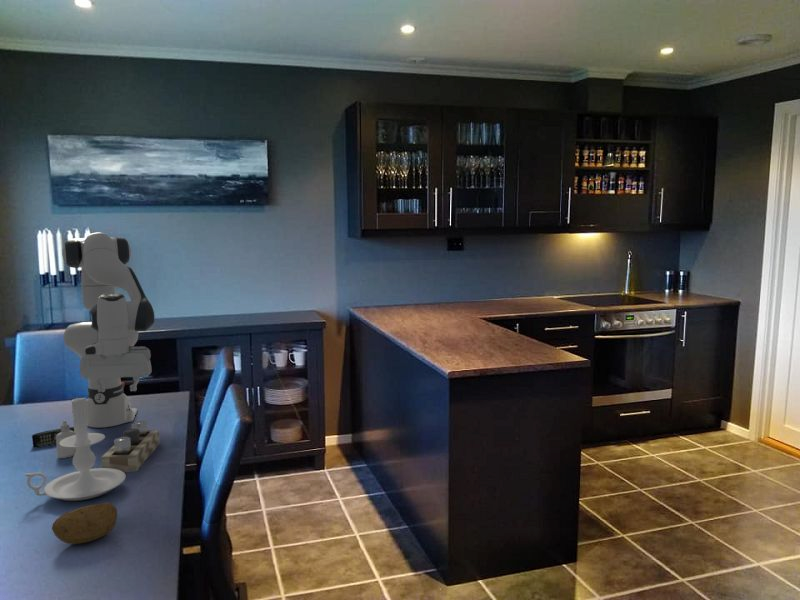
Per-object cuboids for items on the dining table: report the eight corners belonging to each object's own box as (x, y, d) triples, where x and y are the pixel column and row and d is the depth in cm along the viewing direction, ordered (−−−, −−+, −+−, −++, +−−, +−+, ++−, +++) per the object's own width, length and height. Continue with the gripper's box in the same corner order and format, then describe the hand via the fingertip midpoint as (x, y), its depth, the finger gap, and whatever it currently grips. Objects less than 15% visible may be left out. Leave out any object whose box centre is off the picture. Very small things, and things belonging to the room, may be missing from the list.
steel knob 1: (118, 452, 196) (117, 437, 195) (133, 451, 196) (132, 436, 196) (112, 457, 191) (111, 442, 191) (128, 457, 192) (127, 441, 191)
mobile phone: (31, 435, 211) (81, 426, 219) (31, 433, 213) (80, 423, 222) (33, 449, 212) (82, 439, 220) (32, 447, 214) (81, 437, 222)
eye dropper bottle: (76, 457, 203) (73, 421, 202) (56, 459, 201) (53, 423, 200) (77, 452, 207) (75, 417, 206) (58, 454, 205) (56, 419, 204)
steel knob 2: (135, 435, 212) (134, 421, 211) (149, 434, 212) (148, 420, 211) (130, 439, 207) (129, 425, 207) (144, 439, 208) (143, 424, 207)
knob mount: (129, 445, 214) (128, 431, 213) (159, 444, 214) (158, 430, 214) (102, 473, 190) (101, 457, 189) (136, 471, 191) (135, 455, 190)
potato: (51, 540, 149) (48, 509, 148) (114, 524, 157) (112, 494, 156) (56, 558, 141) (53, 525, 140) (122, 540, 149) (120, 508, 148)
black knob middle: (127, 443, 204) (126, 428, 203) (141, 443, 204) (140, 428, 204) (122, 448, 199) (121, 433, 199) (136, 448, 200) (135, 432, 199)
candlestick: (28, 490, 178) (19, 395, 175) (122, 473, 190) (116, 383, 186) (25, 520, 160) (16, 414, 157) (130, 498, 172) (123, 399, 169)
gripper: (153, 344, 194) (155, 387, 195) (84, 345, 192) (87, 389, 194) (146, 347, 188) (149, 392, 189) (76, 349, 186) (79, 395, 187)
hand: (117, 391), depth 191 cm, fingers open, 8 cm apart
